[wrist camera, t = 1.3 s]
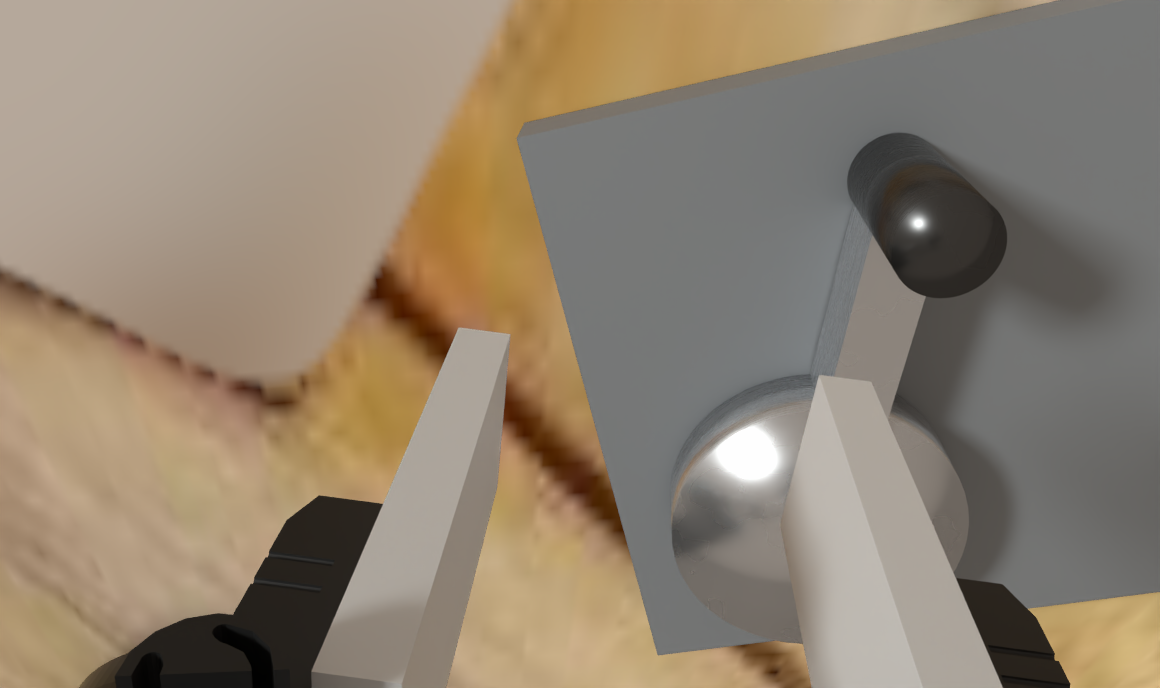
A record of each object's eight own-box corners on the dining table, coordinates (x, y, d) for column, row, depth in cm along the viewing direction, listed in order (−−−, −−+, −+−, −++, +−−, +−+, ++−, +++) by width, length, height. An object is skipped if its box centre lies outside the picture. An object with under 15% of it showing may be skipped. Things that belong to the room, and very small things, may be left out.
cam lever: (906, 614, 36) (949, 741, 31) (652, 580, 36) (652, 701, 31) (1071, 153, 28) (1170, 220, 23) (741, 112, 28) (761, 167, 23)
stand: (657, 620, 40) (657, 660, 38) (524, 122, 31) (515, 140, 29) (1293, 536, 36) (1332, 575, 34) (1362, -70, 27) (1421, -65, 25)
